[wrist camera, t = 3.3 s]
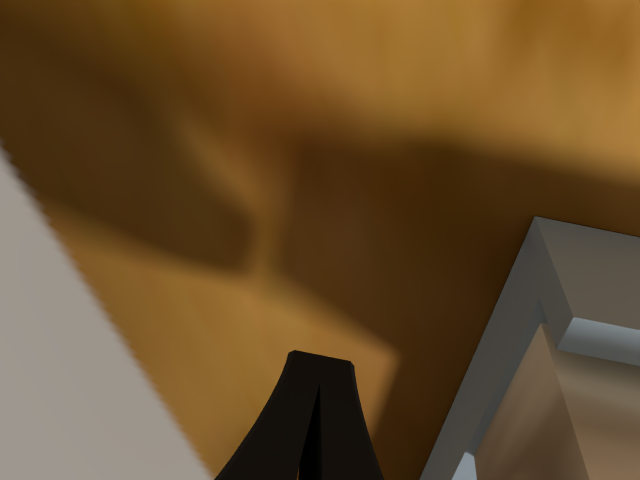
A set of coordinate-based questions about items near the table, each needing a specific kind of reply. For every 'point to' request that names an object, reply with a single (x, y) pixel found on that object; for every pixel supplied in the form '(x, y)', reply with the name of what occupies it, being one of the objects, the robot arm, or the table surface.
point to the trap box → (549, 308)
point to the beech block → (564, 419)
